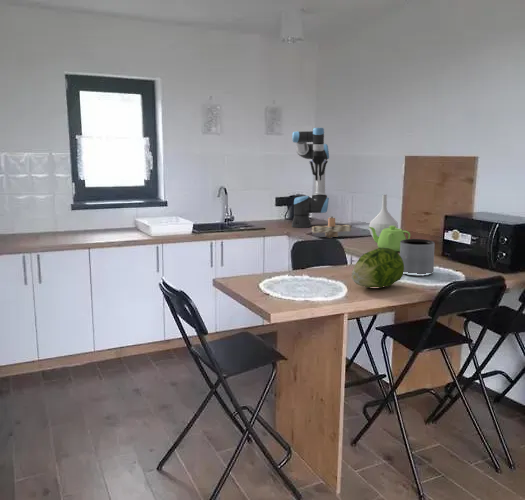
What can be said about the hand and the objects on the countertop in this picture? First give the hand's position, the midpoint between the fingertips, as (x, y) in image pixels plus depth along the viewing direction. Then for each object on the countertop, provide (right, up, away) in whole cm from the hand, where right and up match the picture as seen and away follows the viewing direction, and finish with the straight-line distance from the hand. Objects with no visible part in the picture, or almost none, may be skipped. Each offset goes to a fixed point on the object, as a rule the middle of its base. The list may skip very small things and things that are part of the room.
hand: (318, 185), depth 362 cm
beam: (+8, -36, -7) cm, 38 cm away
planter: (+35, -57, -111) cm, 129 cm away
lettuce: (+11, -62, -135) cm, 149 cm away
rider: (+8, -30, -8) cm, 32 cm away
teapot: (+36, -45, -53) cm, 78 cm away
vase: (+40, -39, -23) cm, 60 cm away
